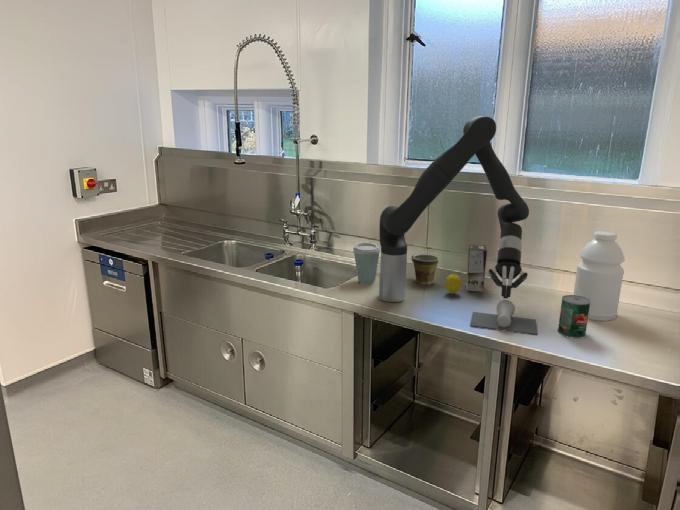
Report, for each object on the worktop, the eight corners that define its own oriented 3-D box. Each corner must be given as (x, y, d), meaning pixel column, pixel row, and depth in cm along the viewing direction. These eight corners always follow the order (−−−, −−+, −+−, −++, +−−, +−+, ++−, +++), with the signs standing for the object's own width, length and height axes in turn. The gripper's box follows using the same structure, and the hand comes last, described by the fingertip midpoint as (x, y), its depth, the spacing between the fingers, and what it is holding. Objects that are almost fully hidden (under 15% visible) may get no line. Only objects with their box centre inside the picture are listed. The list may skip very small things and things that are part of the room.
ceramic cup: (442, 283, 206) (444, 258, 203) (423, 287, 200) (425, 262, 198) (420, 274, 216) (421, 251, 213) (401, 278, 211) (402, 254, 208)
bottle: (597, 324, 167) (610, 239, 160) (561, 310, 179) (572, 230, 171) (625, 317, 173) (639, 235, 166) (589, 303, 185) (600, 226, 178)
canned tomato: (583, 340, 155) (588, 305, 152) (555, 334, 159) (560, 300, 156) (587, 331, 162) (592, 298, 159) (560, 325, 166) (564, 293, 163)
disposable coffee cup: (383, 285, 203) (384, 247, 199) (356, 287, 200) (357, 249, 196) (374, 277, 213) (375, 241, 209) (349, 278, 210) (349, 242, 206)
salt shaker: (495, 298, 173) (492, 314, 162) (513, 296, 171) (511, 313, 159) (498, 314, 175) (495, 331, 163) (516, 312, 172) (514, 330, 161)
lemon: (461, 293, 195) (463, 272, 193) (458, 297, 190) (459, 276, 188) (446, 290, 197) (448, 270, 195) (443, 295, 192) (444, 274, 190)
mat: (472, 313, 175) (472, 311, 175) (535, 320, 170) (535, 319, 169) (469, 326, 164) (470, 325, 164) (537, 335, 158) (537, 333, 158)
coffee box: (483, 292, 196) (487, 250, 192) (466, 290, 197) (469, 249, 193) (482, 284, 205) (485, 244, 200) (465, 283, 206) (468, 243, 202)
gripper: (489, 244, 176) (485, 290, 168) (531, 248, 172) (528, 294, 164) (489, 255, 183) (484, 300, 175) (529, 259, 179) (526, 304, 171)
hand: (505, 297), depth 169 cm, fingers closed
